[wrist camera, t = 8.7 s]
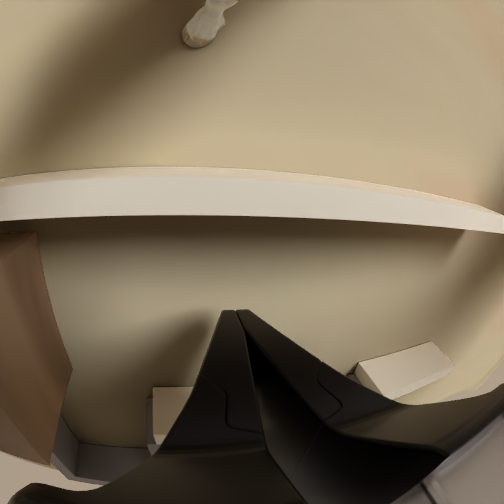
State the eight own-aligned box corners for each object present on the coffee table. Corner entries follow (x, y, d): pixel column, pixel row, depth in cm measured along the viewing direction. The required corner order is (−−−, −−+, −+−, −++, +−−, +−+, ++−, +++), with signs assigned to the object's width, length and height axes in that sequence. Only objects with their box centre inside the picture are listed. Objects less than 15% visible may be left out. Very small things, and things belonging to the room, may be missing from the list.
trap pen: (476, 204, 11) (518, 221, 9) (393, 407, 17) (413, 434, 14) (-80, 195, 5) (-122, 217, 2) (18, 434, 10) (10, 469, 7)
